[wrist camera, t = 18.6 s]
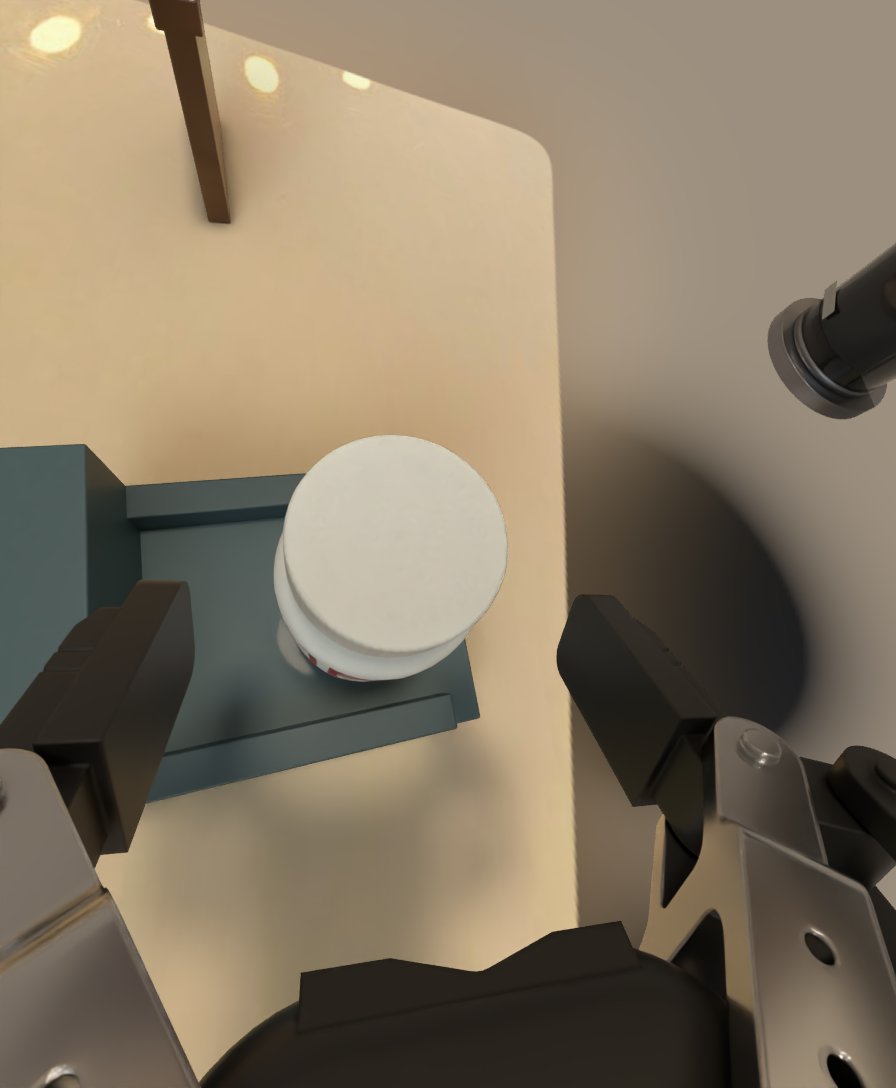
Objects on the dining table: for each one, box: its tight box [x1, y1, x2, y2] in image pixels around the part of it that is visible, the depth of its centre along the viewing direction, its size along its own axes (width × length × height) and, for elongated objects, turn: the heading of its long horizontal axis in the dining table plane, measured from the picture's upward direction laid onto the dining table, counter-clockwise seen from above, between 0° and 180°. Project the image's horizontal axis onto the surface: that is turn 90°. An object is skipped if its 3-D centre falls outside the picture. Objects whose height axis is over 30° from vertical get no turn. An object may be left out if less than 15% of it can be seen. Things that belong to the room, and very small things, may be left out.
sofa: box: [0, 444, 480, 803], centre depth 19 cm, size 15×12×8 cm
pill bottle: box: [274, 435, 508, 682], centre depth 16 cm, size 6×6×11 cm
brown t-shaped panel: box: [149, 0, 230, 223], centre depth 25 cm, size 2×8×10 cm, turn 11°
